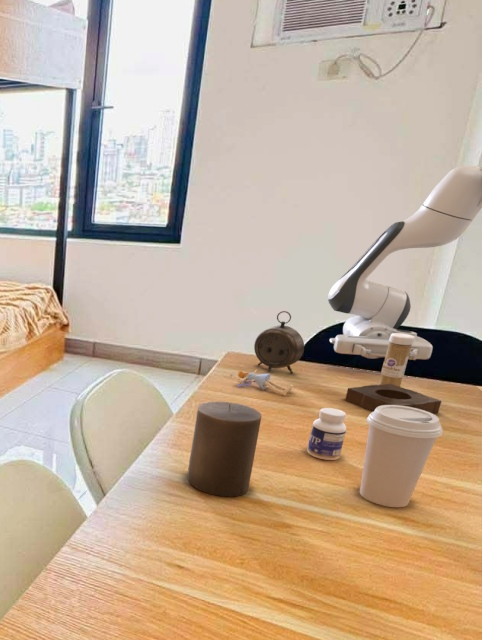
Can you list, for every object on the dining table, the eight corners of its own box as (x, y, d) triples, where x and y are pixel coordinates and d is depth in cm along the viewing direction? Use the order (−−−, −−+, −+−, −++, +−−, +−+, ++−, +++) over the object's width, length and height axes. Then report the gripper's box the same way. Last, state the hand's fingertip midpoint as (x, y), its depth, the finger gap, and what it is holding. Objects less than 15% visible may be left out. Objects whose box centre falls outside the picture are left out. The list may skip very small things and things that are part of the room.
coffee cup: (357, 506, 101) (379, 420, 96) (342, 480, 110) (362, 400, 105) (429, 516, 98) (457, 428, 93) (408, 489, 106) (432, 406, 101)
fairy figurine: (283, 386, 146) (231, 369, 154) (276, 404, 148) (225, 387, 156) (300, 375, 153) (250, 360, 161) (294, 393, 155) (244, 377, 163)
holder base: (387, 394, 149) (390, 383, 148) (440, 413, 137) (444, 401, 136) (342, 399, 146) (345, 387, 145) (393, 419, 135) (396, 406, 134)
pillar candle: (238, 503, 103) (254, 419, 98) (178, 484, 109) (190, 404, 104) (255, 481, 110) (271, 402, 105) (197, 465, 116) (209, 389, 111)
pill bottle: (302, 447, 122) (311, 405, 119) (332, 449, 121) (342, 407, 118) (313, 459, 117) (323, 415, 114) (344, 461, 116) (355, 417, 113)
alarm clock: (299, 373, 165) (312, 313, 159) (289, 377, 162) (302, 316, 156) (257, 364, 173) (268, 306, 168) (247, 367, 170) (257, 309, 165)
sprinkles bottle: (375, 388, 153) (388, 334, 149) (379, 383, 156) (393, 331, 152) (398, 392, 150) (412, 338, 146) (402, 388, 153) (416, 334, 148)
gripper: (330, 326, 170) (343, 339, 158) (422, 332, 162) (443, 345, 150) (325, 349, 172) (337, 363, 160) (416, 355, 164) (436, 370, 152)
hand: (389, 355), depth 155 cm, fingers open, 8 cm apart
